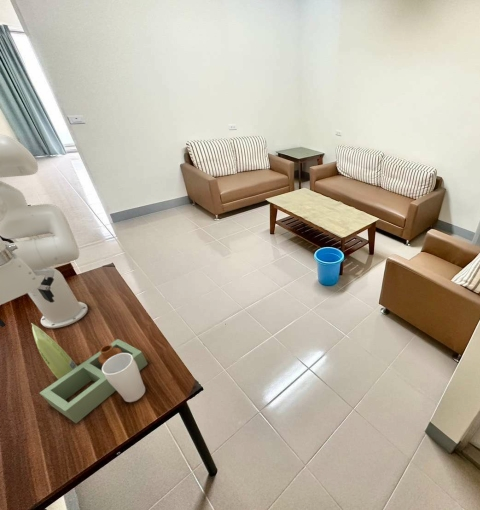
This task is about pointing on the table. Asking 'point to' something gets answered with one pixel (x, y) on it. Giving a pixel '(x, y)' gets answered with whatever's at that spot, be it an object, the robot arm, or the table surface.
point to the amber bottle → (108, 353)
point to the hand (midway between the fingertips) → (26, 311)
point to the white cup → (124, 376)
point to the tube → (53, 353)
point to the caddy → (80, 378)
